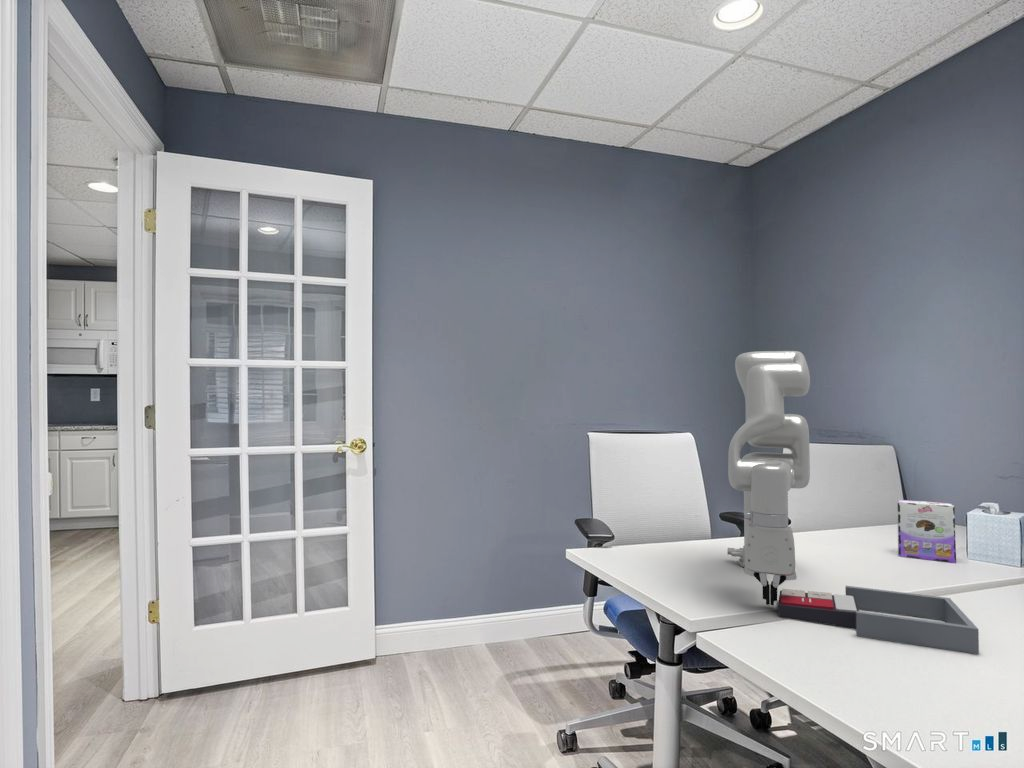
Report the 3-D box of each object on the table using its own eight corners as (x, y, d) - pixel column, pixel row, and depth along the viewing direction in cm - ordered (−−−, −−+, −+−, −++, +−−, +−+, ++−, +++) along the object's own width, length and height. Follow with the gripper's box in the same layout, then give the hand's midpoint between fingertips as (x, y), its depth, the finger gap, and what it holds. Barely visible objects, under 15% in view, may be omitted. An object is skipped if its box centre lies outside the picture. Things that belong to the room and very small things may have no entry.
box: (856, 635, 112) (856, 612, 113) (845, 605, 129) (845, 585, 129) (978, 654, 104) (978, 629, 105) (950, 619, 121) (949, 598, 121)
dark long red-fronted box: (779, 586, 132) (855, 593, 125) (780, 605, 132) (856, 613, 125) (777, 601, 122) (859, 609, 116) (779, 621, 122) (861, 631, 115)
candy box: (954, 559, 169) (953, 502, 169) (956, 563, 164) (955, 505, 164) (897, 552, 176) (896, 498, 177) (898, 556, 171) (897, 501, 172)
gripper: (732, 520, 127) (732, 603, 127) (807, 526, 121) (808, 614, 121) (734, 514, 134) (735, 593, 134) (806, 520, 128) (807, 603, 127)
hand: (770, 603), depth 127 cm, fingers closed
